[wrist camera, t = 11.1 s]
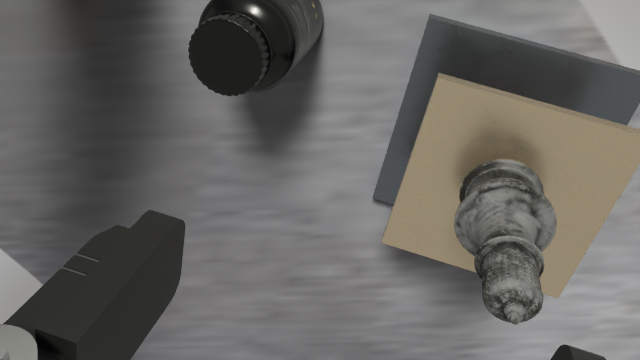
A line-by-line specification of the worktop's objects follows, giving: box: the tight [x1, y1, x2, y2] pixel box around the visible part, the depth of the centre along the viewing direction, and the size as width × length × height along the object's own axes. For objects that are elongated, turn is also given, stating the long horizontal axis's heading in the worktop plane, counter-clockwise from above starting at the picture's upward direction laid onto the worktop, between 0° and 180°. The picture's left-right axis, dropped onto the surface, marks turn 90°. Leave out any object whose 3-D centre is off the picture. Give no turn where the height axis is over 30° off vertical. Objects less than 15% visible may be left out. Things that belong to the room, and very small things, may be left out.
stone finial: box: [454, 160, 557, 324], centre depth 30 cm, size 6×6×12 cm
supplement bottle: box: [188, 0, 323, 96], centre depth 37 cm, size 7×7×12 cm
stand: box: [373, 14, 640, 298], centre depth 39 cm, size 16×16×9 cm
